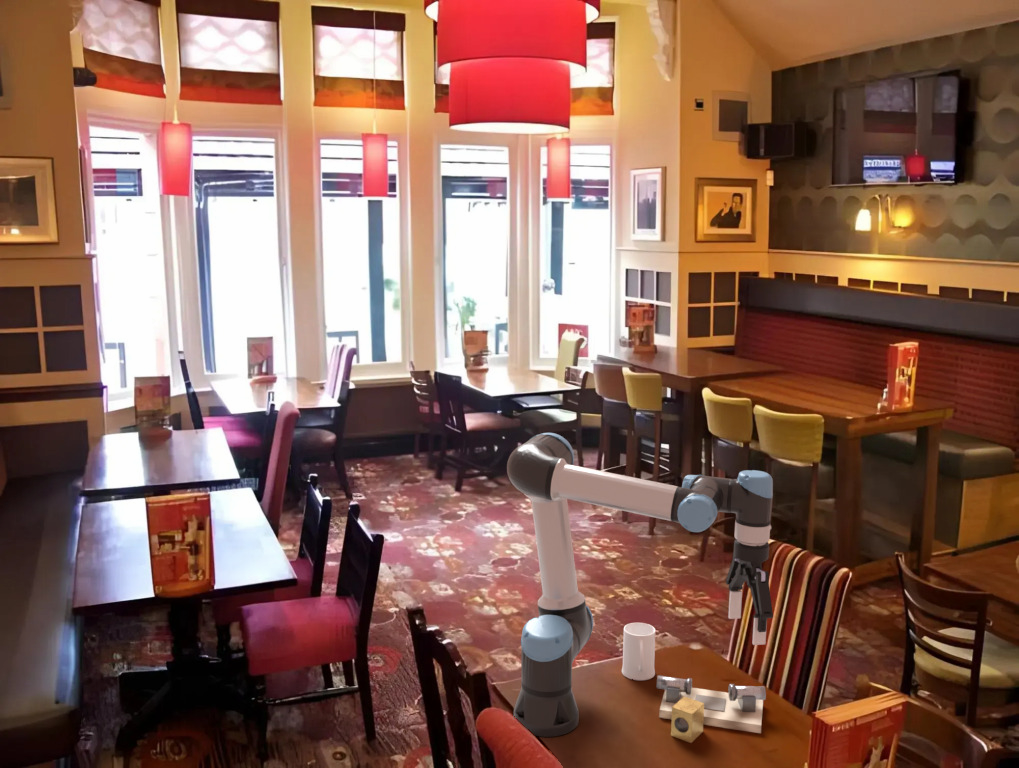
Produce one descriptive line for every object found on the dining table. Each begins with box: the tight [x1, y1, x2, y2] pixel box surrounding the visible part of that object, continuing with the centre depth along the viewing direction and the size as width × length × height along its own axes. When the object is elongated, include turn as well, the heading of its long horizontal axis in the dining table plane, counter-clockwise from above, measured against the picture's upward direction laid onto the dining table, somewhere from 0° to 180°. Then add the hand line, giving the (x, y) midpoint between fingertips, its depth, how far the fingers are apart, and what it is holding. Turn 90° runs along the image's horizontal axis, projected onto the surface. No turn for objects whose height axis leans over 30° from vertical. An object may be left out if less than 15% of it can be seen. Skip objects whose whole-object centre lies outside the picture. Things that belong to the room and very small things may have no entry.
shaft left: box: [656, 675, 693, 703], centre depth 220 cm, size 8×5×5 cm, turn 73°
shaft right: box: [727, 683, 767, 712], centre depth 217 cm, size 8×5×5 cm, turn 88°
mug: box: [621, 622, 656, 681], centre depth 235 cm, size 12×8×12 cm
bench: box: [658, 687, 764, 734], centre depth 218 cm, size 23×13×2 cm, turn 73°
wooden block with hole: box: [670, 697, 704, 744], centre depth 208 cm, size 6×5×7 cm
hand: (746, 630), depth 208 cm, fingers open, 13 cm apart
